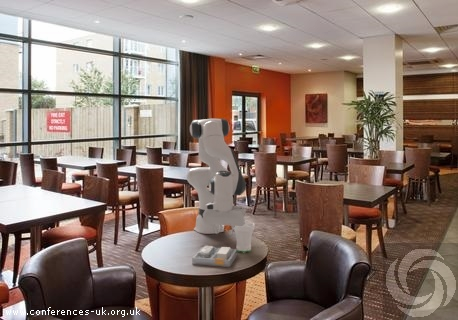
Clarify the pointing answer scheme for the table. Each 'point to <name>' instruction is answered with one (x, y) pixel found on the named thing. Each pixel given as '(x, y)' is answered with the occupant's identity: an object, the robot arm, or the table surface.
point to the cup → (244, 236)
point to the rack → (212, 257)
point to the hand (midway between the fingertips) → (223, 233)
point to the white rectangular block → (224, 253)
